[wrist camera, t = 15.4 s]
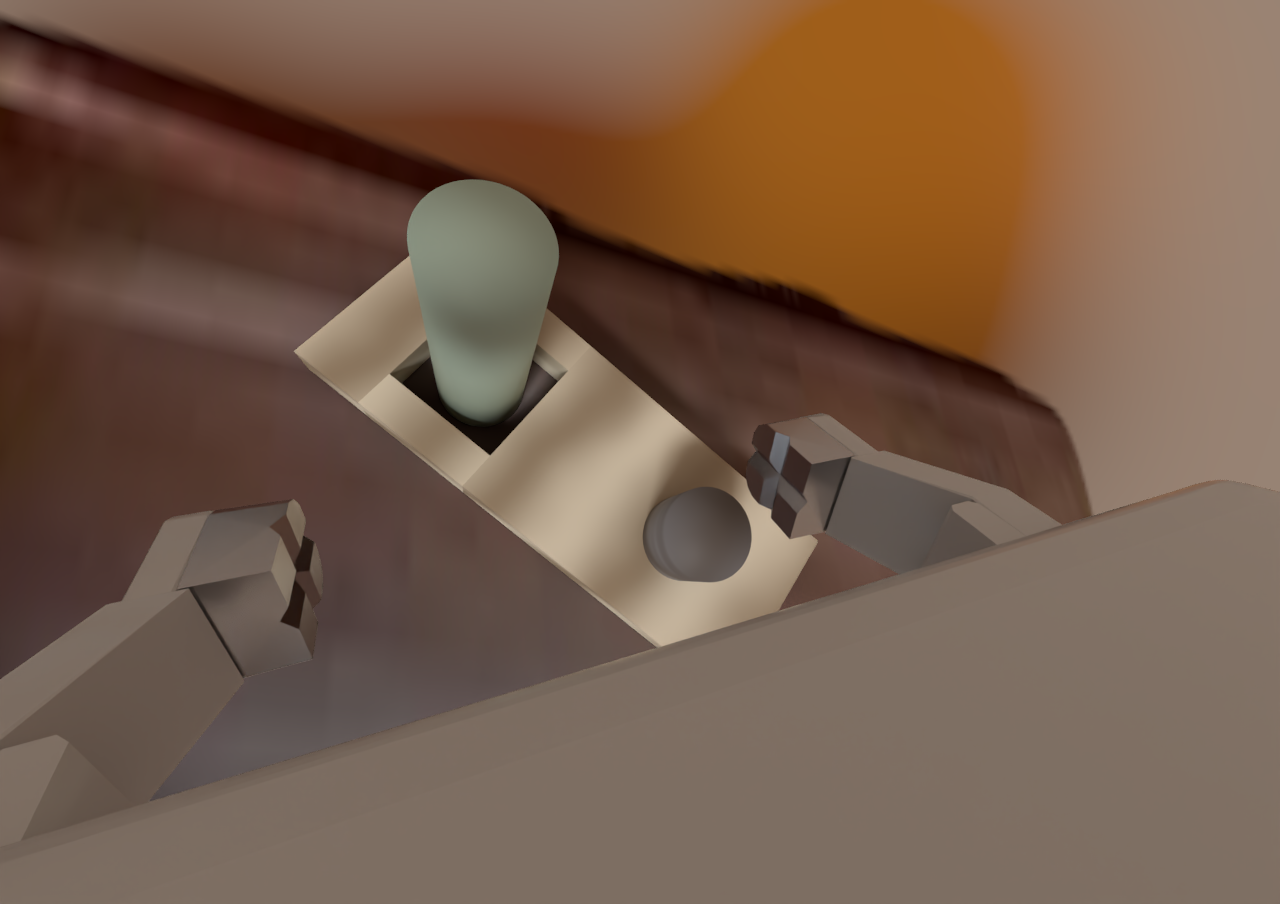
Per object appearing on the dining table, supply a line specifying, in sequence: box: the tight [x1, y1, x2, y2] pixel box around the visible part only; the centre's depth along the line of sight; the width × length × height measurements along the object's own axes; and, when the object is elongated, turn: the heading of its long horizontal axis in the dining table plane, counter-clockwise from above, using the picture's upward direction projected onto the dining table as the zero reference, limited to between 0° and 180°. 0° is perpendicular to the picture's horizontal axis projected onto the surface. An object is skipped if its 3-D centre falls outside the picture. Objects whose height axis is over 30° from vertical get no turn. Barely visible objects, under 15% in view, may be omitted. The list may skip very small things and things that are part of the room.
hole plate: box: [294, 256, 818, 648], centre depth 24 cm, size 24×9×5 cm, turn 53°
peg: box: [407, 180, 559, 427], centre depth 20 cm, size 4×4×12 cm
